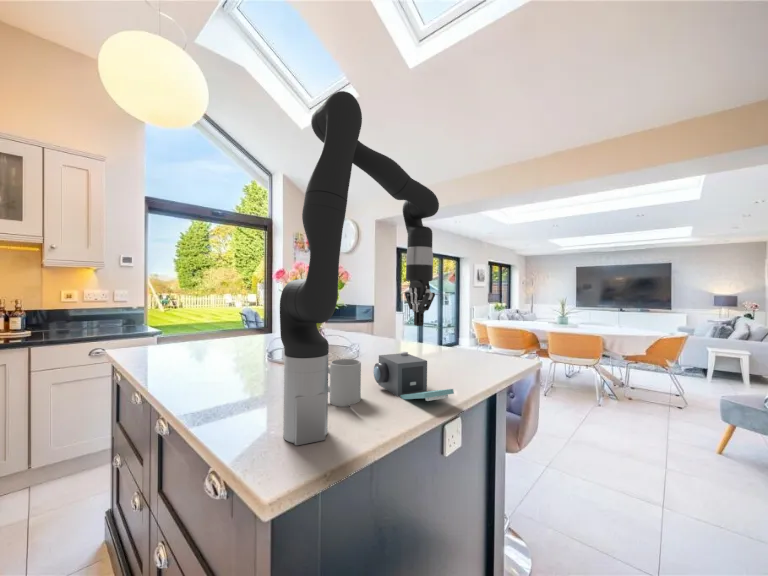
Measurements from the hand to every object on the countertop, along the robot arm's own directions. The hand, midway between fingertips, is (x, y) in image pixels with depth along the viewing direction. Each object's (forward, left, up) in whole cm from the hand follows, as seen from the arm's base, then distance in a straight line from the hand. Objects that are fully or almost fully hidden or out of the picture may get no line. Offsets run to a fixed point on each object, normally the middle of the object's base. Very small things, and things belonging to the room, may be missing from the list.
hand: (418, 325), depth 93 cm
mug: (+8, +20, -21) cm, 31 cm away
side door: (+3, -1, -21) cm, 21 cm away
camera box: (+10, +1, -21) cm, 24 cm away
